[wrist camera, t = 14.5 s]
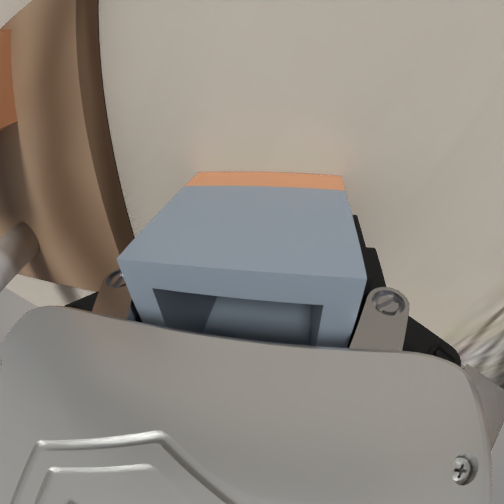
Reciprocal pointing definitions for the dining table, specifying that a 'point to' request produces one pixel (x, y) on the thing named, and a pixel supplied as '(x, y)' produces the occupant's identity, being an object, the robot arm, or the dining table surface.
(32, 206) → the pin board
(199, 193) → the sleeve
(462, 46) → the dining table surface
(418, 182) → the dining table surface
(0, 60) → the sleeve
